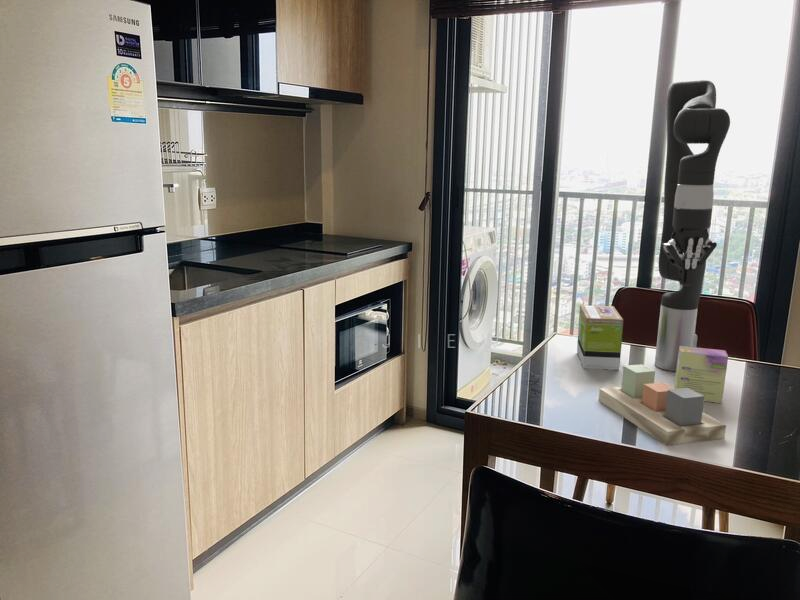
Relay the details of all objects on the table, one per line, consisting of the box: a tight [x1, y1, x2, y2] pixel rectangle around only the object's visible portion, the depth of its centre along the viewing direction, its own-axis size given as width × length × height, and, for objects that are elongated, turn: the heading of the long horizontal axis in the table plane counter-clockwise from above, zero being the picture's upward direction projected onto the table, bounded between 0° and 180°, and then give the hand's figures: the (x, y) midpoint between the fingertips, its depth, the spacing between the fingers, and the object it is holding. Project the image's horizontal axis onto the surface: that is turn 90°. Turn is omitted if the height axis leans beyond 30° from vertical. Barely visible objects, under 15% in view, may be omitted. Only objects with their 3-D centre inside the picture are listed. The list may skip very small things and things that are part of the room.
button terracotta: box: [642, 382, 675, 412], centre depth 145 cm, size 5×5×6 cm
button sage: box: [620, 363, 656, 399], centre depth 152 cm, size 5×5×6 cm
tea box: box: [576, 304, 624, 371], centre depth 183 cm, size 15×10×15 cm, turn 172°
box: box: [673, 346, 729, 404], centre depth 158 cm, size 10×6×12 cm, turn 71°
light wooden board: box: [598, 386, 727, 446], centre depth 146 cm, size 14×25×3 cm, turn 15°
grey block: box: [665, 388, 705, 427], centre depth 137 cm, size 5×5×6 cm
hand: (685, 284), depth 144 cm, fingers closed
